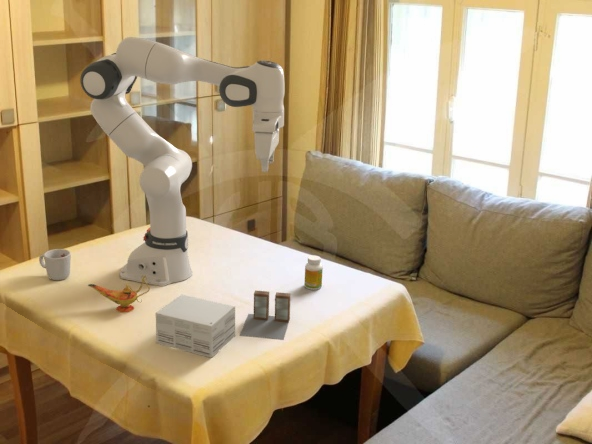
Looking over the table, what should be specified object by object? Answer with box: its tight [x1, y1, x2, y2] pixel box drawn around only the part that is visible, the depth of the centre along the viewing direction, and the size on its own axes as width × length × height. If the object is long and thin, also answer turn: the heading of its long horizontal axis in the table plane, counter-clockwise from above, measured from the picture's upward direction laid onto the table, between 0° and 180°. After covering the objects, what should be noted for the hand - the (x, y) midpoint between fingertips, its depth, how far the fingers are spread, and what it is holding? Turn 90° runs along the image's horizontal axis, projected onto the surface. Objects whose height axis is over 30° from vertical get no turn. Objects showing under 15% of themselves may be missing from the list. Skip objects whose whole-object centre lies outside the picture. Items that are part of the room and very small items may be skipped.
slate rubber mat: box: [239, 313, 290, 341], centre depth 208 cm, size 12×13×1 cm
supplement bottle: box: [304, 255, 324, 291], centre depth 233 cm, size 5×5×10 cm
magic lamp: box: [87, 275, 151, 314], centre depth 214 cm, size 7×18×11 cm, turn 85°
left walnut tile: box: [253, 290, 270, 321], centre depth 211 cm, size 4×2×8 cm, turn 83°
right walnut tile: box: [274, 292, 292, 323], centre depth 210 cm, size 4×2×8 cm, turn 83°
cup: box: [39, 248, 72, 281], centre depth 233 cm, size 11×8×8 cm
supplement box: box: [155, 294, 236, 359], centre depth 199 cm, size 17×13×9 cm
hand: (267, 167), depth 217 cm, fingers open, 8 cm apart
